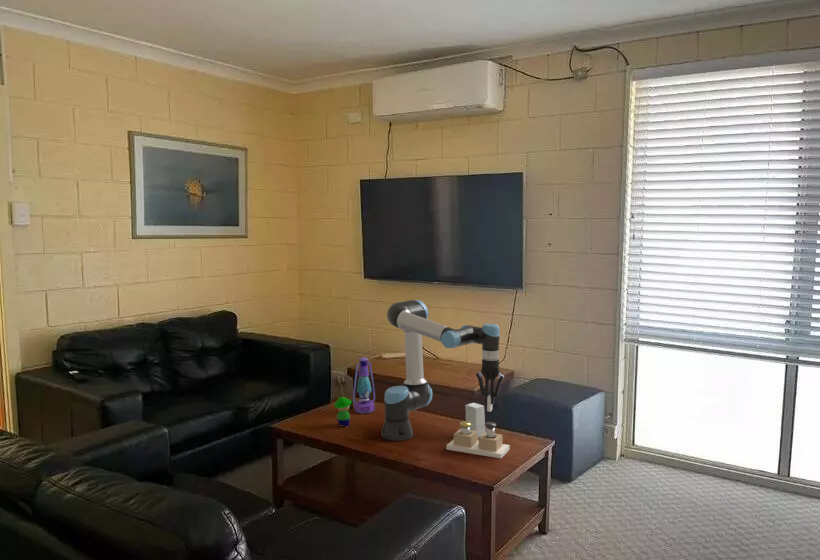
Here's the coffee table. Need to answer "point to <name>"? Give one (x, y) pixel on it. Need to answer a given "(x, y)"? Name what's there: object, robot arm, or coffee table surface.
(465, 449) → the socket board
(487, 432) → the plug black
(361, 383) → the lantern
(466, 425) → the plug brass
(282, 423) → the coffee table surface
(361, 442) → the coffee table surface
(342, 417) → the toy
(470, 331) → the robot arm
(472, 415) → the skincare box
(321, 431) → the coffee table surface
